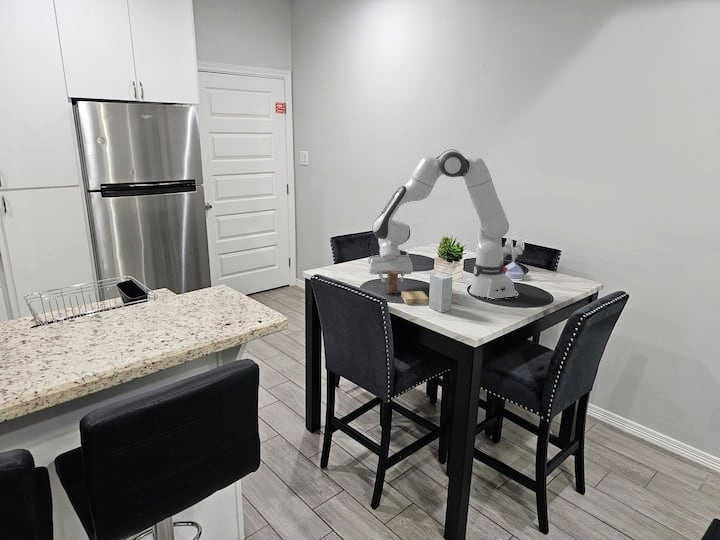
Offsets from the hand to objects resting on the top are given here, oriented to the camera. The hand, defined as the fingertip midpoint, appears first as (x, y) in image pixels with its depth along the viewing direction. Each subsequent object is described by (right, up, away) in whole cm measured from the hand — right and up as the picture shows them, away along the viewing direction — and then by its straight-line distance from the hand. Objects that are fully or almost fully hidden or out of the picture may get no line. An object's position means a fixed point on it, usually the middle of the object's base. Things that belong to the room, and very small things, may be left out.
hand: (392, 281), depth 221 cm
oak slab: (+9, -9, -7) cm, 14 cm away
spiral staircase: (+64, +8, +55) cm, 85 cm away
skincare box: (+19, -11, -16) cm, 27 cm away
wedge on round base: (+66, +2, +33) cm, 74 cm away
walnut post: (0, -5, +2) cm, 5 cm away
